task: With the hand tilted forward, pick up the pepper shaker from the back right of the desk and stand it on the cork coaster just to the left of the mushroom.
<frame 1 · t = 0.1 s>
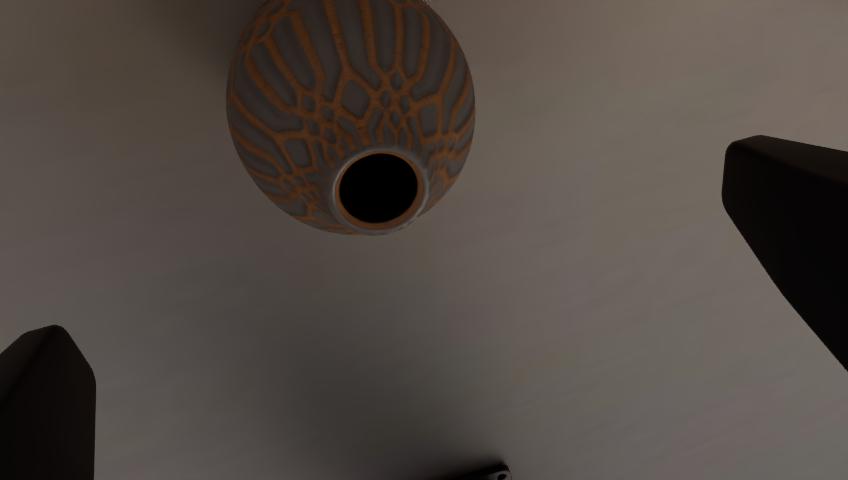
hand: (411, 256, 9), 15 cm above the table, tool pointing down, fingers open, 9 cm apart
vase: (338, 61, 22), on the table
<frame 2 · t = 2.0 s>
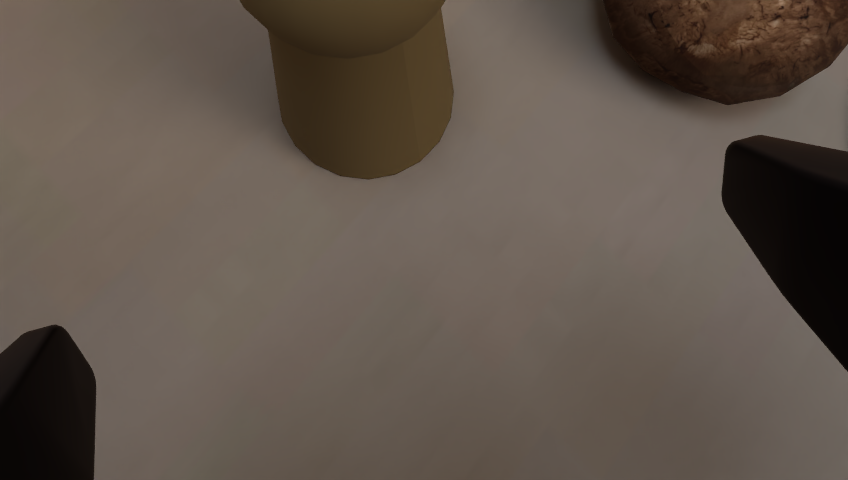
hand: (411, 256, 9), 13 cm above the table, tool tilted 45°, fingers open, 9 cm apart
pepper shaker: (366, 96, 23), on the table
mushroom: (692, 24, 24), on the table
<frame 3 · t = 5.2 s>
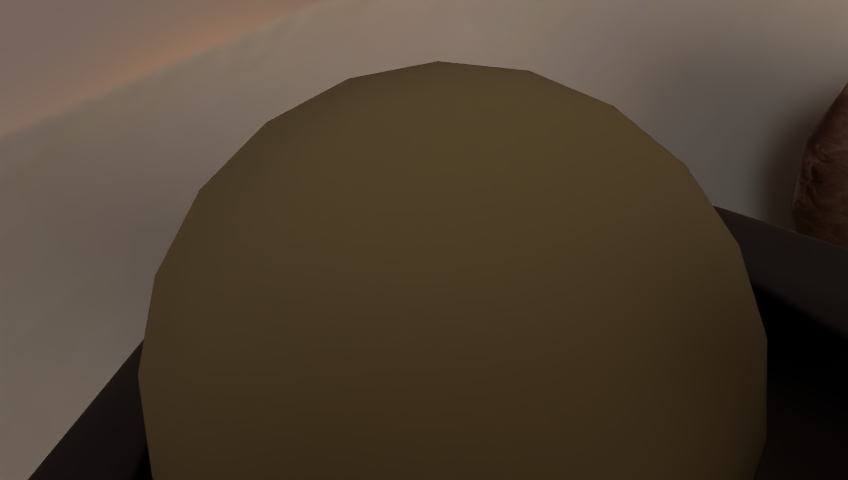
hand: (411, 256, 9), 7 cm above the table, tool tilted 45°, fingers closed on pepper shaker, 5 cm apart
pepper shaker: (425, 361, 15), on the table, touching gripper
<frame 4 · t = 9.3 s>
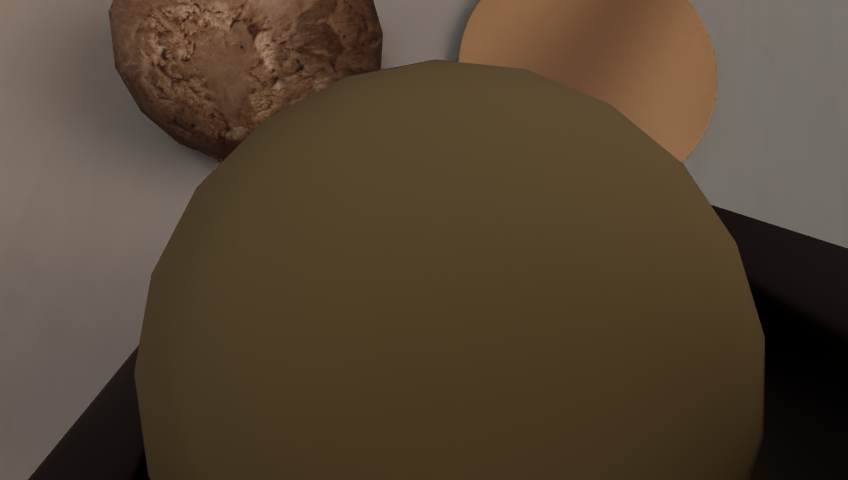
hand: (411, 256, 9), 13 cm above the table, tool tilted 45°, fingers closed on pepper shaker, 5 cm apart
pepper shaker: (424, 361, 15), point 7 cm above the table, touching gripper
coaster: (585, 74, 24), on the table
mushroom: (269, 84, 23), on the table
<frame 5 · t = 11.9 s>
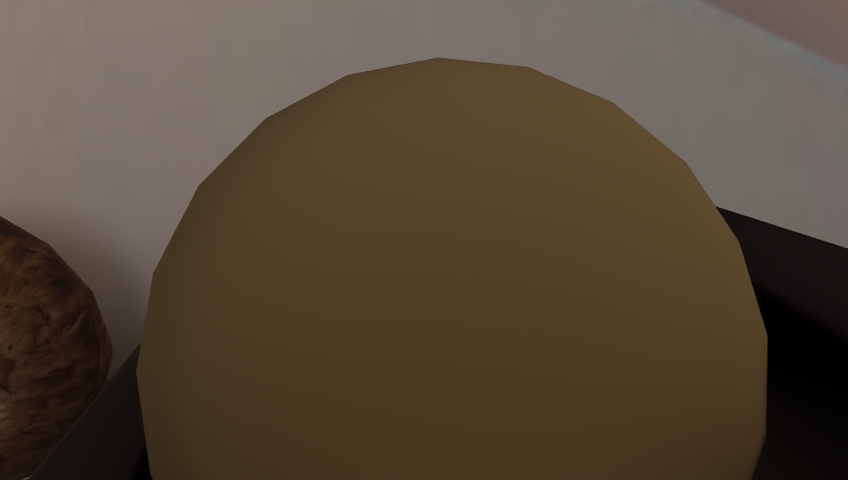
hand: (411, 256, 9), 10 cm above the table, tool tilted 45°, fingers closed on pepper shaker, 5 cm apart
pepper shaker: (425, 360, 15), point 3 cm above the table, touching gripper
when the fingers open (7 cm above the table, at t = 13.5 s): pepper shaker stays where it is, resting on coaster.
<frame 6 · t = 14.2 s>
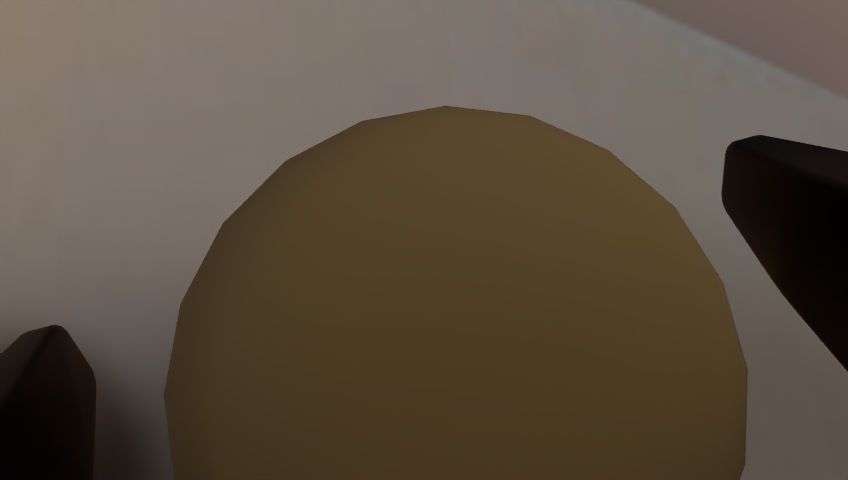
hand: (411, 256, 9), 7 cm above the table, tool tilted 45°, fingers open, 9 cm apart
pepper shaker: (427, 371, 16), resting on coaster
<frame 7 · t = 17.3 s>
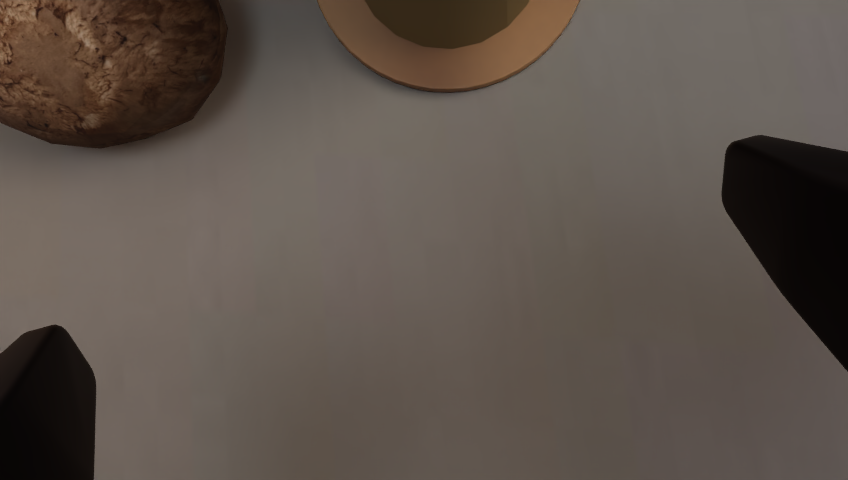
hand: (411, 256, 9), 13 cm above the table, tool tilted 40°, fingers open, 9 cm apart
mushroom: (132, 56, 23), on the table
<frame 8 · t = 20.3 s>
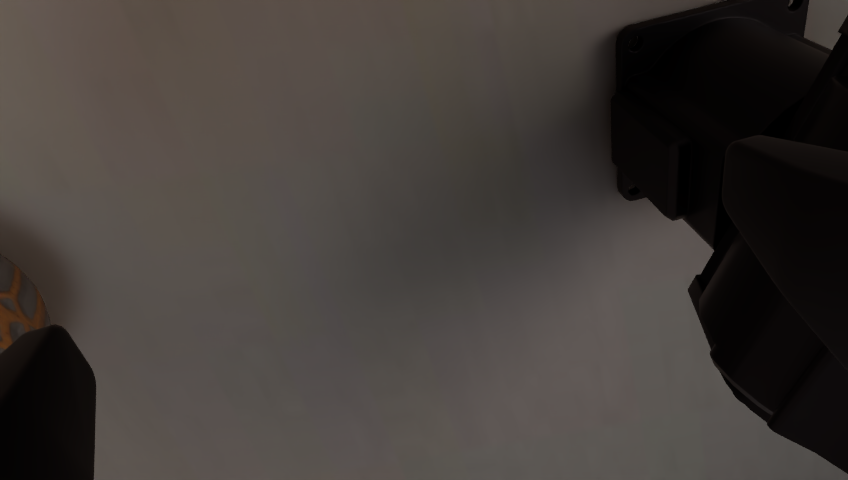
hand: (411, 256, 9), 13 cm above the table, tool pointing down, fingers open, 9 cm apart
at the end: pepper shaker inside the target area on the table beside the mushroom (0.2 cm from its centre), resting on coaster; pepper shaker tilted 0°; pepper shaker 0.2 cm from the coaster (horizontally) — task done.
